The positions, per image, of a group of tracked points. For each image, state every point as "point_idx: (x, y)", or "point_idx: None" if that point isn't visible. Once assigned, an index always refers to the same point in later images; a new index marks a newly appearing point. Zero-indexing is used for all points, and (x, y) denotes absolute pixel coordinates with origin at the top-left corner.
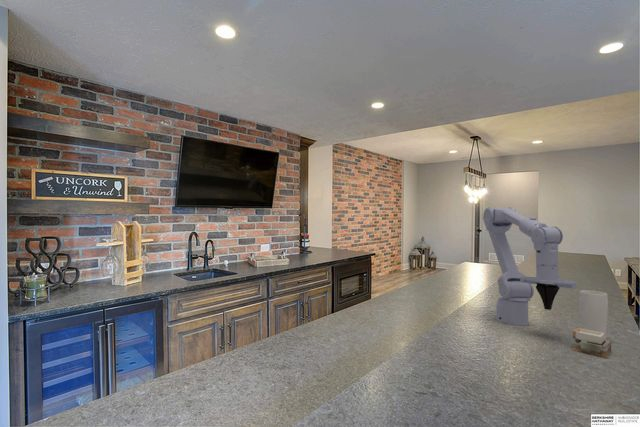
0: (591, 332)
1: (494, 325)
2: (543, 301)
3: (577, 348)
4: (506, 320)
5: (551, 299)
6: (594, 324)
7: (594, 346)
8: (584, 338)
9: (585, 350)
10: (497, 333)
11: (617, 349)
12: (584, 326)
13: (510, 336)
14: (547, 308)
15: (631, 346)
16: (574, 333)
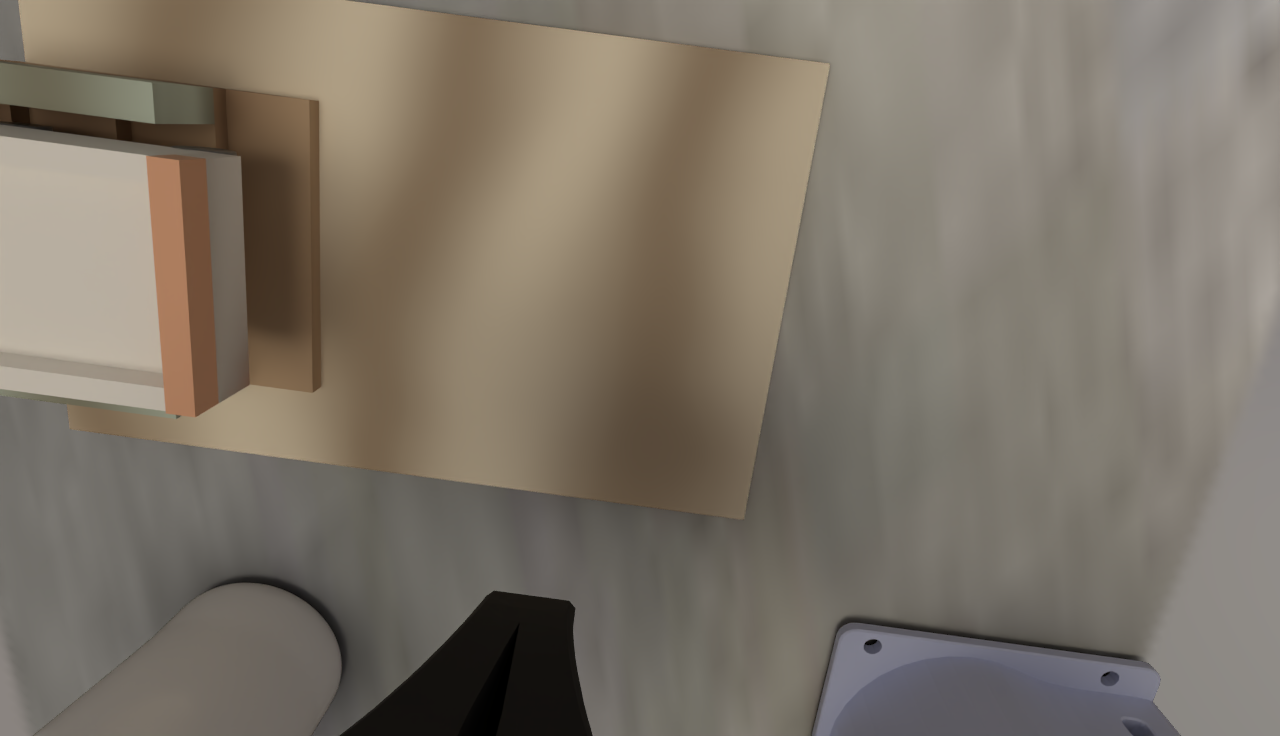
0: (51, 361)
1: (1160, 577)
2: (559, 682)
3: (278, 188)
4: (1060, 708)
5: (360, 723)
6: (103, 707)
7: (29, 65)
8: (100, 142)
9: (169, 82)
10: (1106, 269)
11: (85, 544)
12: (245, 707)
13: (955, 255)
14: (518, 601)
15: (39, 705)
16: (183, 158)
